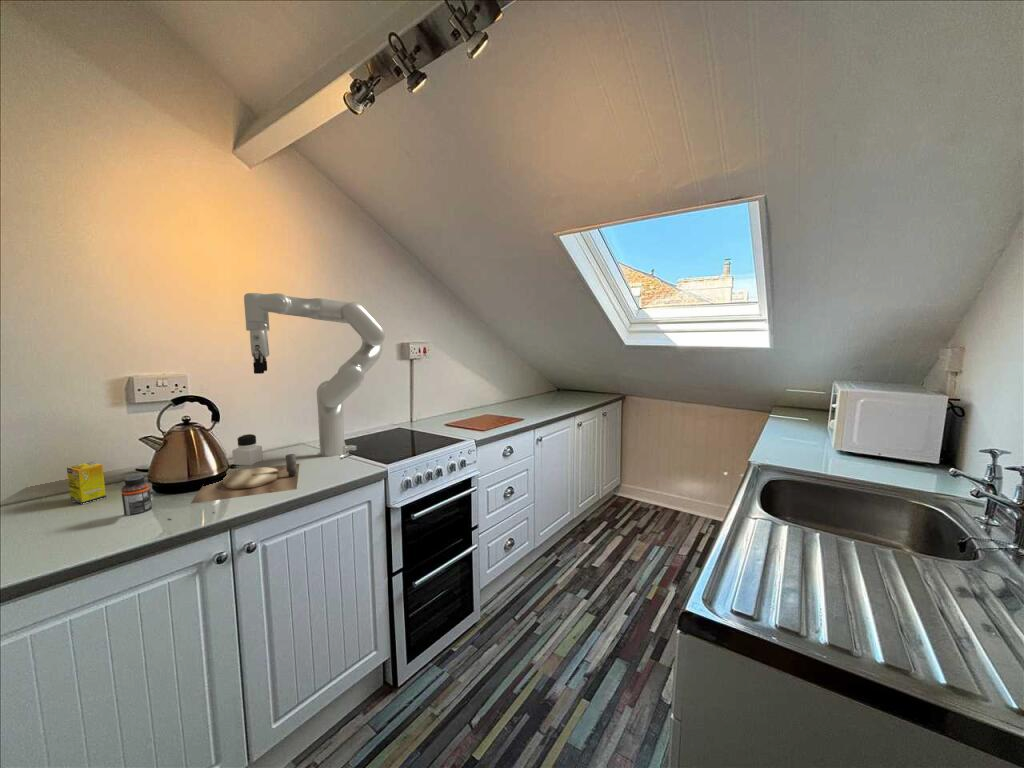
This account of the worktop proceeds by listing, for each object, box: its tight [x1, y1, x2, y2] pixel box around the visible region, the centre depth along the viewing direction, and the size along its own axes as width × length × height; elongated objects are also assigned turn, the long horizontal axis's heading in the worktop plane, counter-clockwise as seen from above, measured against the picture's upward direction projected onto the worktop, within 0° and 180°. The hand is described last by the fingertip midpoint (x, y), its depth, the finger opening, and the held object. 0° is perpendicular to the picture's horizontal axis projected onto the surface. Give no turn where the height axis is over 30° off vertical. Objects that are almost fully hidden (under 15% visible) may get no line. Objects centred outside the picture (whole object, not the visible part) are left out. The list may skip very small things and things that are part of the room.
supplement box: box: [66, 461, 107, 505], centre depth 129 cm, size 6×6×11 cm
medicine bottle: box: [231, 433, 264, 466], centre depth 162 cm, size 7×7×12 cm
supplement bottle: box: [120, 474, 153, 516], centre depth 118 cm, size 6×6×11 cm
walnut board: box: [190, 463, 300, 504], centre depth 142 cm, size 28×28×2 cm
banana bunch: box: [223, 453, 297, 489], centre depth 143 cm, size 22×16×7 cm
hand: (260, 372), depth 160 cm, fingers open, 9 cm apart
